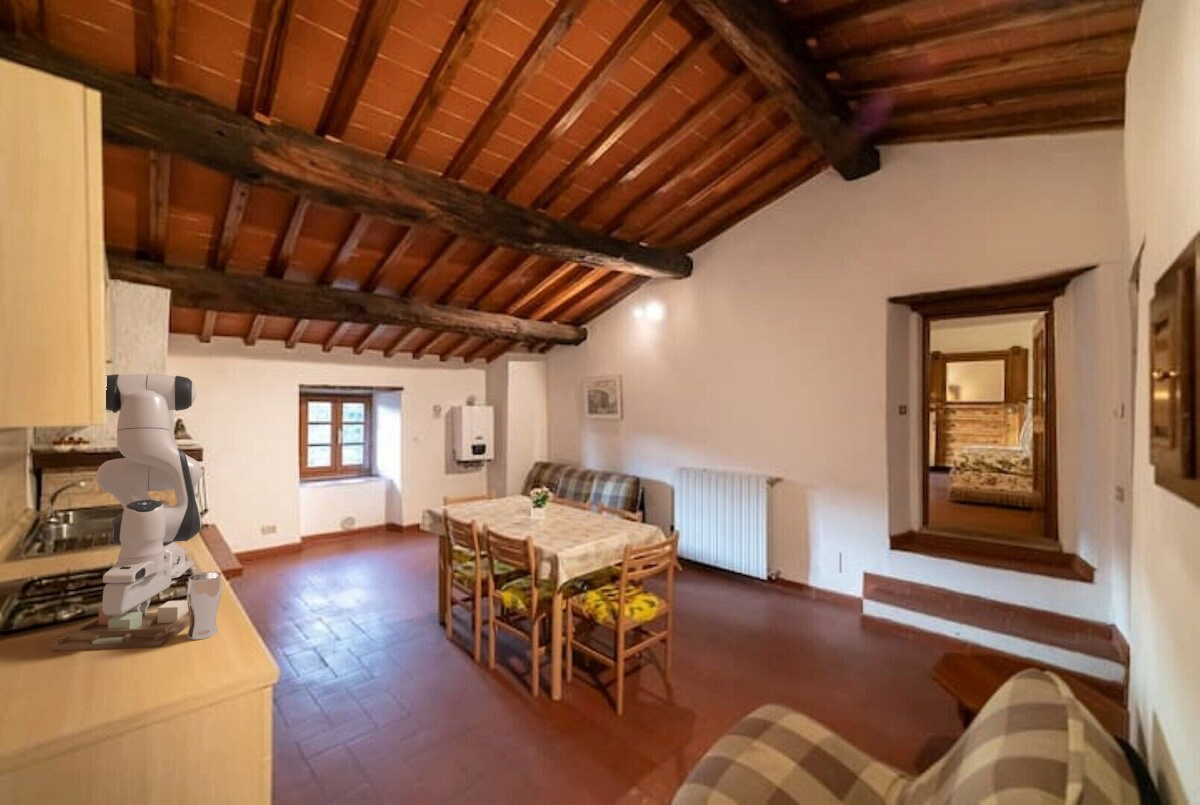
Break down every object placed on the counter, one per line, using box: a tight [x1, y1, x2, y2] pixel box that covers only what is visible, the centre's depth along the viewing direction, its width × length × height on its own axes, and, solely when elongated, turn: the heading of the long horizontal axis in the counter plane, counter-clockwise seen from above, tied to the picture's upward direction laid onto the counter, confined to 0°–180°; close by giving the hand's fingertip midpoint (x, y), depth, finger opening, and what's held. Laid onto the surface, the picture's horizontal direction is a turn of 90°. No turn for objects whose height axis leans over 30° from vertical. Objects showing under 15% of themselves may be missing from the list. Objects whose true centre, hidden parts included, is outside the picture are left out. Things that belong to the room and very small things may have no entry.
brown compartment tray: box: [50, 611, 190, 652], centre depth 130 cm, size 18×22×3 cm
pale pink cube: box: [157, 600, 188, 623], centre depth 136 cm, size 4×4×4 cm
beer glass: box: [186, 571, 223, 641], centre depth 131 cm, size 7×7×15 cm
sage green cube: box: [108, 612, 142, 630], centre depth 127 cm, size 4×4×4 cm
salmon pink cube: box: [98, 607, 129, 625], centre depth 133 cm, size 4×4×4 cm
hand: (138, 618), depth 132 cm, fingers closed
